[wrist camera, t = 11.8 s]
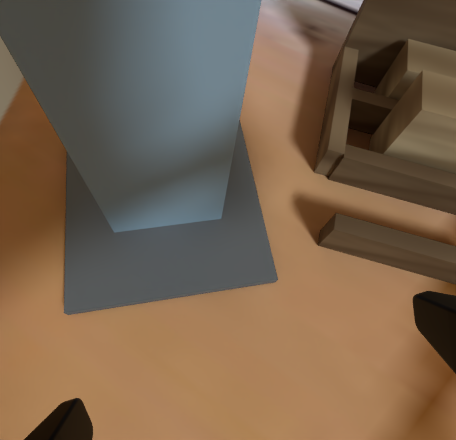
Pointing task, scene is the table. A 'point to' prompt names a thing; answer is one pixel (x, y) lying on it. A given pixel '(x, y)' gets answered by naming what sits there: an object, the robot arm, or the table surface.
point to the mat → (164, 248)
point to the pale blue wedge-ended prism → (140, 97)
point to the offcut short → (415, 67)
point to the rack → (369, 122)
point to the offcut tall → (422, 124)
